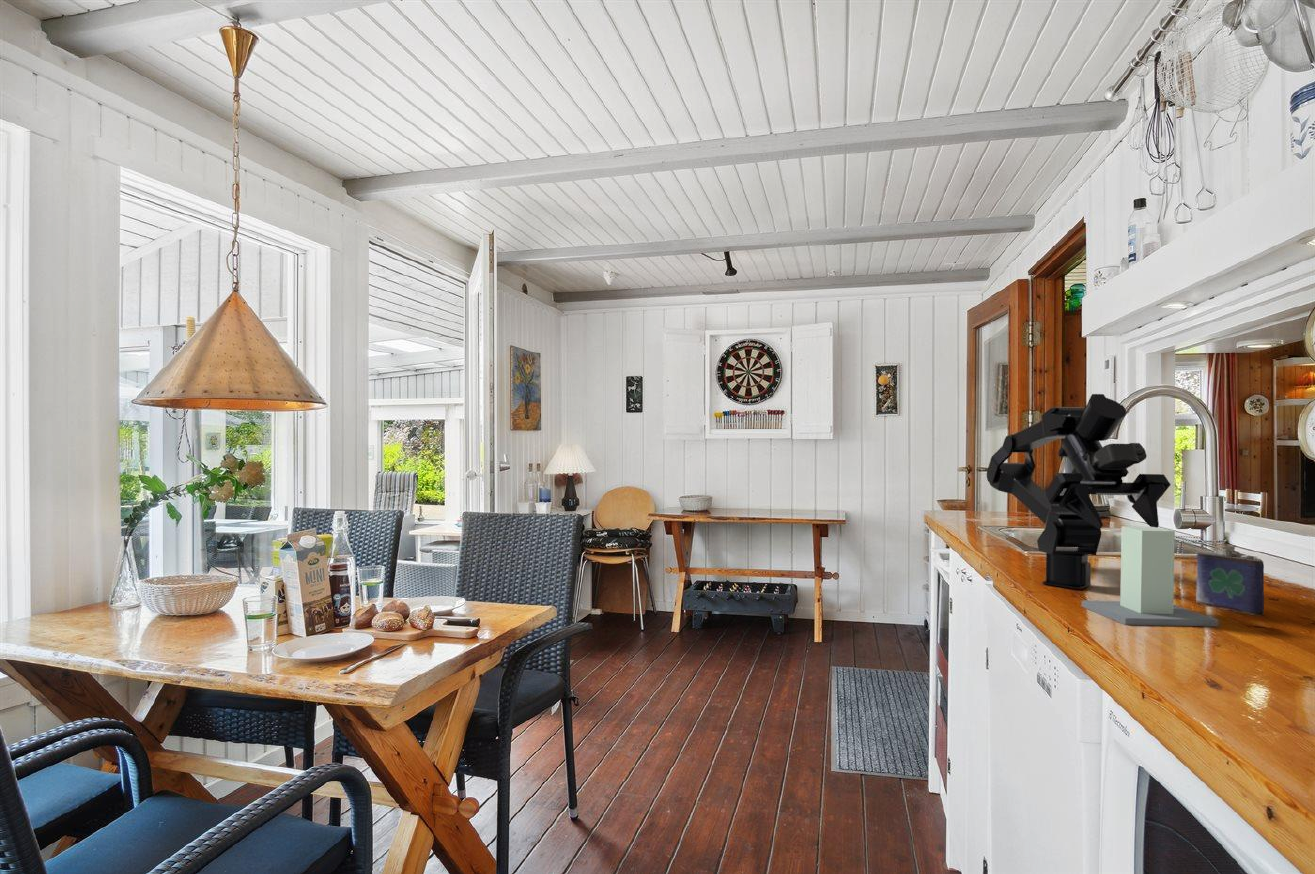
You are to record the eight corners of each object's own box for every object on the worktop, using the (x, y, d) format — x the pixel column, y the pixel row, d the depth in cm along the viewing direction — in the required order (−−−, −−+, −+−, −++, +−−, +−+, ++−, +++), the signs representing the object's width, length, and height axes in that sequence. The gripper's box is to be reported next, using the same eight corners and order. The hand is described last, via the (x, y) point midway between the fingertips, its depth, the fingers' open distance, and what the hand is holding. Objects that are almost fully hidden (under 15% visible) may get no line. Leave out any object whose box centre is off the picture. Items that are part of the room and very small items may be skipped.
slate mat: (1081, 606, 116) (1081, 600, 116) (1165, 607, 116) (1165, 601, 116) (1125, 624, 105) (1125, 618, 105) (1218, 626, 105) (1218, 619, 105)
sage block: (1120, 605, 113) (1121, 526, 113) (1151, 605, 113) (1152, 526, 113) (1140, 613, 108) (1142, 530, 108) (1173, 613, 108) (1174, 531, 108)
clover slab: (1193, 603, 119) (1194, 541, 119) (1201, 601, 120) (1203, 540, 120) (1259, 616, 111) (1261, 550, 111) (1267, 614, 112) (1269, 549, 112)
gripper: (1055, 426, 120) (1093, 495, 109) (1163, 428, 120) (1212, 497, 109) (1031, 469, 128) (1064, 537, 117) (1132, 470, 128) (1175, 539, 117)
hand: (1128, 527), depth 115 cm, fingers open, 9 cm apart
